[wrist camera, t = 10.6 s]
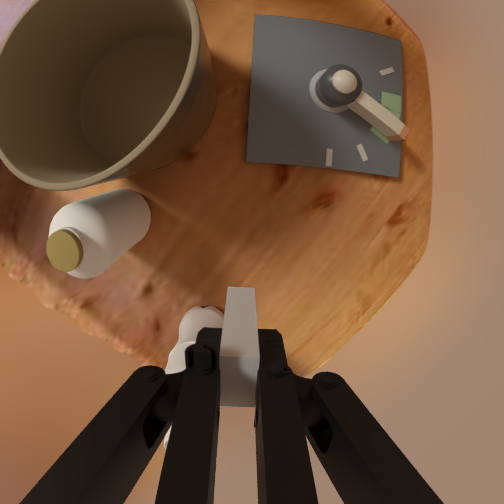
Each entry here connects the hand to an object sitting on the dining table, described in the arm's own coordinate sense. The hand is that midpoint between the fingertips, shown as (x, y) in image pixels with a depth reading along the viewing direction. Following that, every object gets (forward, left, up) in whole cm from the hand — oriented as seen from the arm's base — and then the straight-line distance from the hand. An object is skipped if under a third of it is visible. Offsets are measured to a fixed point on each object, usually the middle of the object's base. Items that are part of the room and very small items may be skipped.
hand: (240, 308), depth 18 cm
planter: (-17, -15, -27) cm, 35 cm away
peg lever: (-17, +15, -25) cm, 34 cm away
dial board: (-19, +11, -26) cm, 34 cm away
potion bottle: (0, -17, -27) cm, 32 cm away
